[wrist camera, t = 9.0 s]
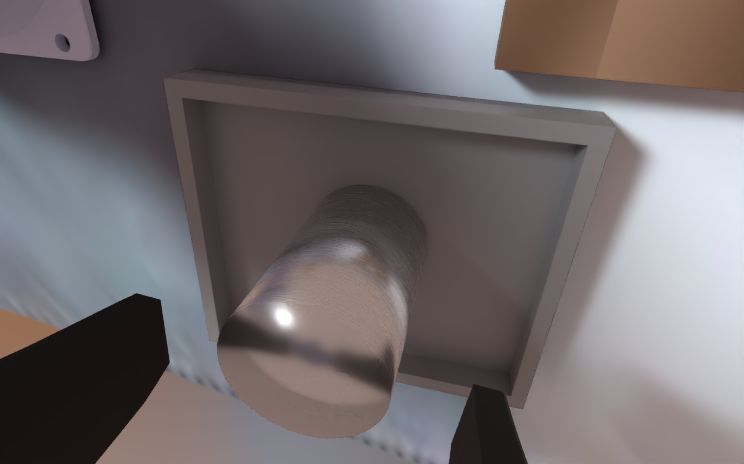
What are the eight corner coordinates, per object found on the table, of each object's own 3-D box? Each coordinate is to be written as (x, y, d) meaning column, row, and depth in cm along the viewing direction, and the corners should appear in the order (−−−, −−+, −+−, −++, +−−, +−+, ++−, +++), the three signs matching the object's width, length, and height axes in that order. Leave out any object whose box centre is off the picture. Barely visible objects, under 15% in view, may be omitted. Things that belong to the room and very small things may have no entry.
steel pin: (302, 267, 16) (213, 401, 11) (322, 168, 14) (222, 276, 9) (408, 304, 16) (366, 459, 11) (444, 208, 14) (414, 345, 8)
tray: (228, 316, 19) (209, 340, 18) (193, 68, 14) (162, 77, 13) (520, 376, 17) (522, 409, 16) (602, 111, 12) (616, 127, 10)
